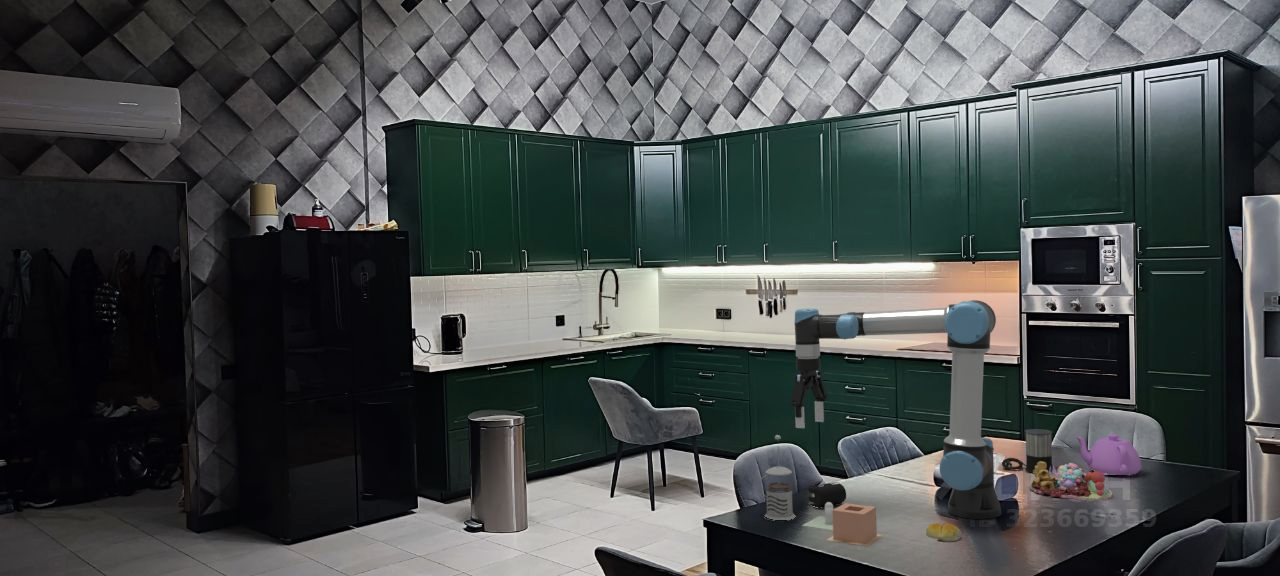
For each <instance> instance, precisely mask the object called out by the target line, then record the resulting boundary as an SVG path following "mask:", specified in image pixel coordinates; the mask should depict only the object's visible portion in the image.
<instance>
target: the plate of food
mask: <svg viewBox="0 0 1280 576" xmlns="http://www.w3.org/2000/svg"><path fill="white" fill-rule="evenodd" d="M1046 468H1047V463H1046V462H1042V461H1040V462H1038V463H1037V465H1036V466H1035V470H1033V472H1034V473H1033V474H1034V477H1035V478H1034V479H1033V480H1032V482H1031V485H1030V486H1029V487H1028V489H1029V490H1031V491H1032V492H1034V493H1036V494H1040V495H1041V496H1043V495H1049V496H1050V497H1051V498H1063V499H1075V500H1080V501H1081V500H1083V501H1104V500H1109V499H1111V498H1112V496H1113V492H1112V491H1111V490H1110V488H1109V487H1108V485H1107V484H1106V483H1105V480H1106V476H1105V475H1104V474H1103V473H1102V472H1100V471H1095V472H1093V471H1092V472H1091V471H1088V472H1085V470H1083V468H1081V467H1079V466H1078V465H1077V464H1076V463H1073V462H1069V463H1068V464H1066V463H1064V464H1063V465H1061V464H1060V466H1058V467H1057V469H1056V468H1055V465H1052V470H1053V471H1051V466H1050V469H1049V472H1048V470H1045V469H1046Z"/></svg>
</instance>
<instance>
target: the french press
mask: <svg viewBox="0 0 1280 576" xmlns="http://www.w3.org/2000/svg"><path fill="white" fill-rule="evenodd" d="M774 439H775V440H781V439H782V437H781V436H780V435H778V434H776V435H775V436H774ZM765 474H766V475H763V476H762V477H760V478H759V480H758V484H757V490H758V493H759V495H760V497H762V499H764V500H765V501H766V513H765V514H764V516H765V517H767V518H769V519H773V520H772V521H775V520H787V521H792V520H795V519H796V518H797V516H796V515H795V514H794V512H793V489H792V488H791V486H792V484H791V483H789V482H780V481H777V482H770V483H768V484H767V487H768V488H767V490H766V495H765V493H764V492H763V490H762V481H763V479H764V478H765V481H768V480H769V479H770V476H773V477H775V476H776V477H785V476H791V474H793V471H792V470H791V469H789V468H788V467H785V466H780V453H779V447H777V466H772V467H769V468H768V469H767V470H765ZM760 491H761V492H760ZM781 491H782V492H781ZM765 517H764V518H765ZM795 517H796V518H795ZM794 518H795V519H794ZM769 519H768V520H769ZM791 519H792V520H791Z"/></svg>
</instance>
